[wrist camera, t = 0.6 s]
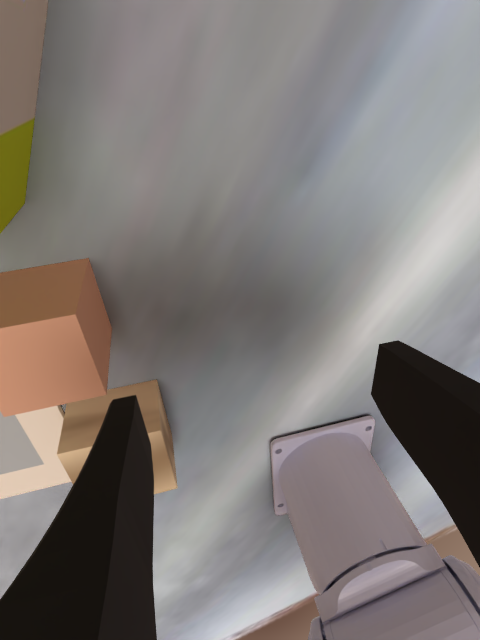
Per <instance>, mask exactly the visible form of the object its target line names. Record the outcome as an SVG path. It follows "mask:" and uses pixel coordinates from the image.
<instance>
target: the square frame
mask: <svg viewBox="0 0 480 640" xmlns="http://www.w3.org/2000/svg"><path fill="white" fill-rule="evenodd" d="M64 415H65V414H64V412H63V410H62V408H61V406H60V405H57V406H53V407H48V408H44V409H39V410H34V411H30V412H25V413H21V414H16V415H11V416H7V417H4V416H3V415H2V413H1V411H0V499H2V498H6V497H10V496H15V495H19V494H23V493H27V492H31V491H35V490H39V489H43V488H47V487H51V486H55V485H59V484H63V483H67V482H71V480H70V478H69V476H68V474H67V472H66V470H65V469H64V467H63V465H62V463H61V461H60V459H59V458H58V456H57V451H58V446H59V441H60V435H61V430H62V425H63V420H64Z"/></svg>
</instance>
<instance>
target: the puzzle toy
mask: <svg viewBox="0 0 480 640" xmlns="http://www.w3.org/2000/svg"><path fill="white" fill-rule="evenodd" d="M47 8H48V0H0V233H1V232H2V231H3V230H4V228H5V227H6V226H7V225H8V223H9V222H10V221H11V220H12V218H13V217H14V216H15V215H16V213H17V212H18V211H19V210H20V209H21V207H22V206H23V205H24V204H25V196H26V188H27V179H28V171H29V162H30V154H31V145H32V137H33V128H34V120H35V111H36V102H37V94H38V85H39V77H40V68H41V60H42V51H43V43H44V34H45V26H46V17H47Z"/></svg>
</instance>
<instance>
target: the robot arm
mask: <svg viewBox="0 0 480 640" xmlns="http://www.w3.org/2000/svg"><path fill="white" fill-rule="evenodd" d="M371 395H372V397H373V399H374V401H375V403H376V405H377V407H378V408H379V410H380V412H381V414H382V416H383V418H384V419H385V421H386V423H387V424H388V426H389V427H390V429H391V430H392V432H393V433H394V434H395V436H396V437H397V439H398V440H399V441H400V443H401V444H402V446H403V447H404V448H405V450H406V451H407V453H408V454H409V455H410V457H411V458H412V459H413V461H414V462H415V464H416V465H417V466H418V468H419V469H420V471H421V472H422V473H423V475H424V476H425V477H426V479H427V480H428V482H429V483H430V484H431V486H432V487H433V489H434V490H435V492H436V493H437V495H438V496H439V498H440V499H441V501H442V502H443V504H444V506H445V507H446V509H447V511H448V512H449V514H450V516H451V517H452V519H453V521H454V523H455V524H456V526H457V528H458V529H459V531H460V533H461V534H462V536H463V538H464V540H465V542H466V543H467V545H468V547H469V549H470V551H471V552H472V554H473V556H474V558H475V560H476V562H477V563H478V565H479V567H480V383H479V382H477V381H475V380H473V379H471V378H469V377H467V376H465V375H463V374H461V373H459V372H457V371H455V370H453V369H452V368H450V367H448V366H446V365H444V364H442V363H440V362H438V361H437V360H435V359H433V358H431V357H429V356H427V355H425V354H424V353H422V352H420V351H418V350H416V349H414V348H412V347H410V346H408V345H406V344H404V343H402V342H400V341H393V342H388V343H383V344H379V349H378V355H377V361H376V367H375V373H374V379H373V385H372V391H371ZM374 426H375V420H374V418H373V417H372V416H365V417H361V418H357V419H353V420H349V421H345V422H341V423H337V424H333V425H329V426H325V427H321V428H317V429H313V430H309V431H305V432H301V433H297V434H293V435H289V436H285V437H281V438H277V439H274V440H273V441H272V442H271V444H270V448H271V465H272V482H273V499H274V511H275V514H276V515H283V514H287V513H288V516H289V518H290V521H291V524H292V527H293V530H294V533H295V536H296V539H297V541H298V544H299V547H300V550H301V553H302V556H303V559H304V562H305V565H306V567H307V570H308V573H309V576H310V579H311V581H312V584H313V586H314V588H315V590H316V591H317V593H318V594H319V596H317V597H315V602H316V605H317V608H318V611H319V614H320V616H319V617H316V618H314V619H313V620H312V622H311V630H310V633H309V637H308V640H480V576H479V575H478V574H477V572H476V571H475V570H474V569H473V568H472V567H471V566H470V565H469V564H467V563H466V562H463V561H461V560H458V559H456V558H455V557H454V556H448V557H446V558H444V559H441V557H440V556H439V554H438V553H437V551H436V549H435V548H434V546H433V545H432V544H429V545H427V544H426V542H425V541H424V539H423V537H422V536H421V534H420V533H419V531H418V529H417V528H416V526H415V524H414V523H413V521H412V520H411V518H410V516H409V515H408V513H407V512H406V510H405V508H404V507H403V505H402V503H401V502H400V500H399V499H398V497H397V495H396V494H395V492H394V491H393V489H392V487H391V486H390V484H389V482H388V481H387V479H386V478H385V476H384V474H383V473H382V471H381V469H380V468H379V466H378V465H377V463H376V461H375V460H374V458H373V457H372V455H371V453H370V449H371V444H372V438H373V432H374ZM153 515H154V473H153V461H152V451H151V443H150V440H149V436H148V433H147V430H146V426H145V423H144V420H143V416H142V413H141V410H140V406H139V403H138V400H137V397H136V395H132V396H127V397H123V398H118V399H113V400H112V401H111V403H110V405H109V407H108V410H107V413H106V415H105V418H104V421H103V423H102V426H101V428H100V430H99V433H98V435H97V437H96V440H95V442H94V444H93V446H92V448H91V450H90V453H89V455H88V457H87V459H86V461H85V463H84V465H83V467H82V469H81V471H80V473H79V475H78V477H77V479H76V481H75V483H74V485H73V486H72V488H71V490H70V492H69V494H68V496H67V497H66V499H65V501H64V503H63V505H62V507H61V508H60V510H59V512H58V513H57V515H56V517H55V519H54V520H53V522H52V524H51V525H50V527H49V528H48V530H47V532H46V533H45V535H44V536H43V538H42V540H41V541H40V543H39V544H38V546H37V547H36V549H35V550H34V552H33V554H32V555H31V556H30V558H29V559H28V561H27V562H26V564H25V565H24V567H23V568H22V569H21V571H20V572H19V574H18V575H17V577H16V578H15V580H14V581H13V583H12V584H11V585H10V587H9V588H8V590H7V591H6V592H5V594H4V595H3V596H2V598H1V599H0V640H157V636H156V623H155V608H154V593H153V565H152V563H153Z"/></svg>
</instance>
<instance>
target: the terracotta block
mask: <svg viewBox="0 0 480 640" xmlns="http://www.w3.org/2000/svg"><path fill="white" fill-rule="evenodd" d="M111 333H112V328H111V325H110V322H109V319H108V315H107V312H106V309H105V306H104V303H103V300H102V297H101V294H100V291H99V288H98V285H97V282H96V279H95V276H94V273H93V270H92V267H91V264H90V261H89V258H86V259H80V260H74V261H68V262H62V263H56V264H50V265H44V266H38V267H32V268H26V269H20V270H14V271H8V272H2V273H0V411H1V413H2V415H3V416H4V417H7V416H11V415H16V414H21V413H25V412H30V411H34V410H39V409H44V408H48V407H53V406H57V405H62V404H67V403H71V402H76V401H80V400H85V399H90V398H94V397H99V396H103V395H107V383H108V370H109V358H110V346H111Z"/></svg>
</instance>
